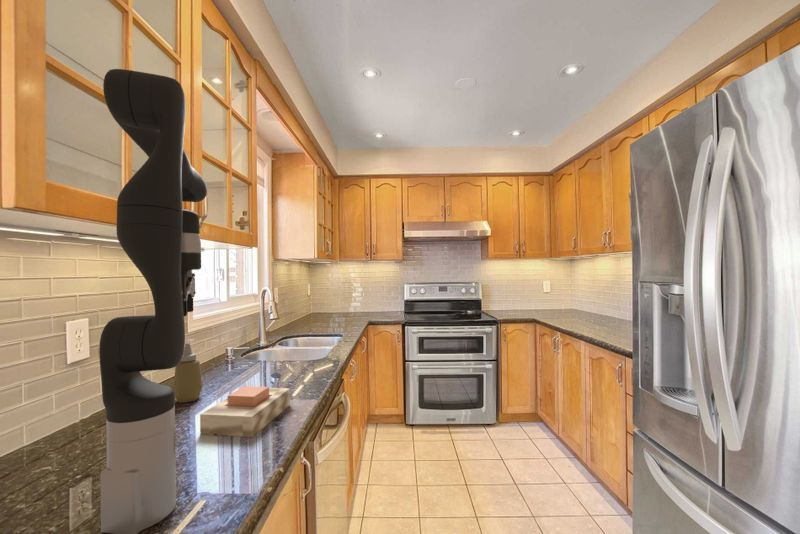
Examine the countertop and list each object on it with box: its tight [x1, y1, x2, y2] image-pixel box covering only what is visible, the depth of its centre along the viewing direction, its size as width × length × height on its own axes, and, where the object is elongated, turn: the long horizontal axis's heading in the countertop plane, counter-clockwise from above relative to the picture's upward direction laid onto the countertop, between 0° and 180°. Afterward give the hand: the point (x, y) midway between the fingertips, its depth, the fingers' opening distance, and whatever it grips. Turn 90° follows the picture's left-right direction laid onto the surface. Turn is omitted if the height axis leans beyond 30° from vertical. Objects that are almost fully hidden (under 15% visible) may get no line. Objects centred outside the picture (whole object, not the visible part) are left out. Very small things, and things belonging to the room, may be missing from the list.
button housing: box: [199, 387, 291, 438], centre depth 95 cm, size 20×14×5 cm
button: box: [227, 385, 270, 407], centre depth 95 cm, size 8×8×4 cm
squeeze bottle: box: [172, 342, 204, 404], centre depth 110 cm, size 8×8×18 cm
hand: (185, 313), depth 89 cm, fingers open, 8 cm apart
